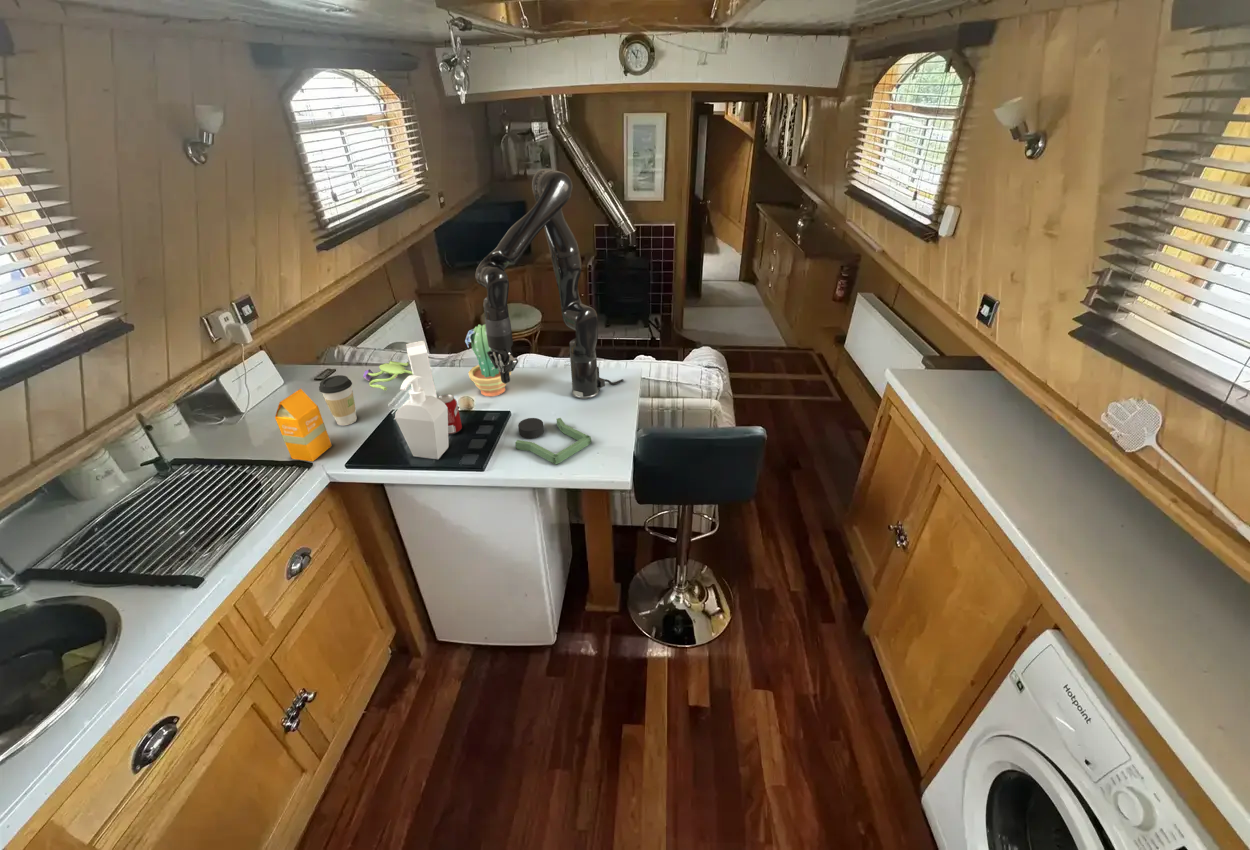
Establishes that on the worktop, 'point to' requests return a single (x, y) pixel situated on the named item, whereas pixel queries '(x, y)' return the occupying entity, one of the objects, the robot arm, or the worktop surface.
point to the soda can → (452, 413)
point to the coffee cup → (339, 398)
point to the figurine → (389, 368)
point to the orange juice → (302, 427)
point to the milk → (421, 366)
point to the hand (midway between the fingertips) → (505, 382)
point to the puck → (531, 428)
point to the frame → (562, 455)
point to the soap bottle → (423, 421)
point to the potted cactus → (484, 364)
